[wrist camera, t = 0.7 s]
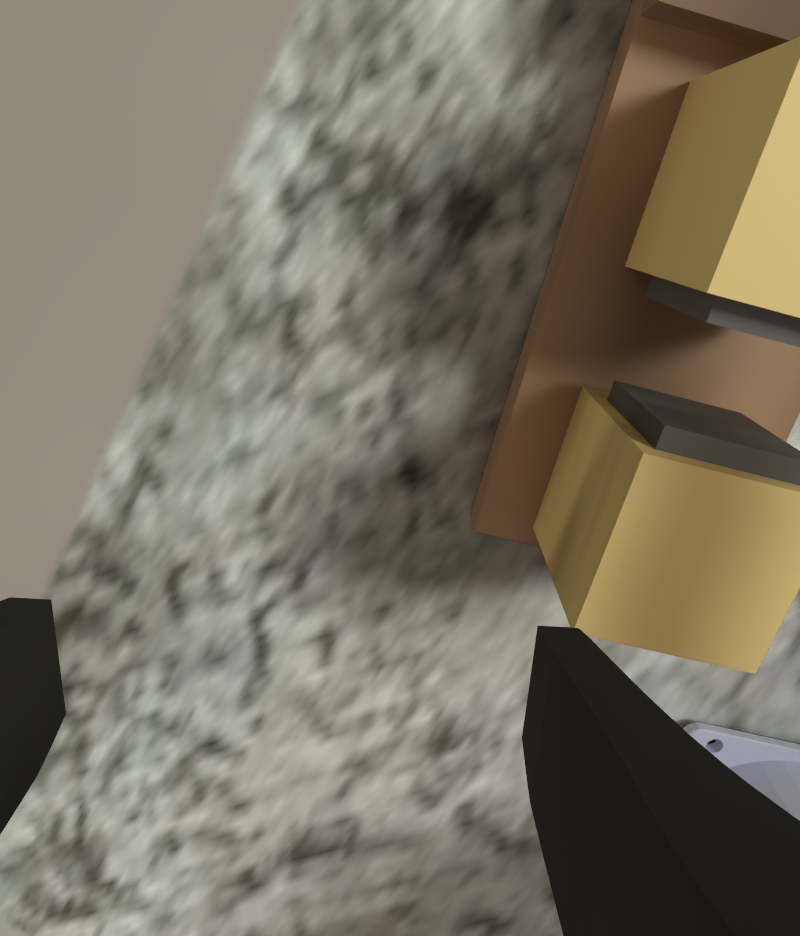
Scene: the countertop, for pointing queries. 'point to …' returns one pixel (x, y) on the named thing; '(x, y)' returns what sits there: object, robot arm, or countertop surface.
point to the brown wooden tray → (652, 391)
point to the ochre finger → (731, 201)
